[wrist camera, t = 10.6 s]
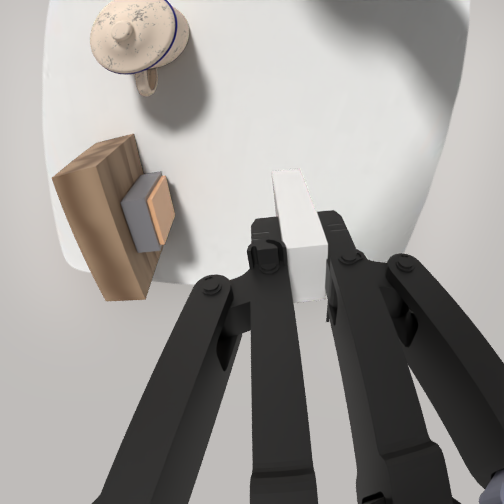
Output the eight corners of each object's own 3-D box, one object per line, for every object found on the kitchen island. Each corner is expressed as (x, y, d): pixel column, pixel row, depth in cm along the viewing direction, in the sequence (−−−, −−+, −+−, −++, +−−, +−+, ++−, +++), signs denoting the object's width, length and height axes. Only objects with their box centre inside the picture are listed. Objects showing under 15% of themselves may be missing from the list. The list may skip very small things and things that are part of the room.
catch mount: (133, 133, 36) (96, 166, 26) (163, 244, 46) (145, 299, 37) (95, 143, 36) (51, 178, 26) (129, 248, 47) (106, 301, 37)
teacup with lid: (118, 13, 25) (73, 3, 16) (189, -3, 25) (167, -25, 16) (127, 96, 33) (85, 115, 23) (196, 85, 32) (176, 97, 23)
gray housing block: (165, 170, 38) (149, 197, 31) (176, 216, 42) (164, 250, 35) (108, 181, 38) (84, 209, 31) (122, 223, 42) (103, 256, 36)
